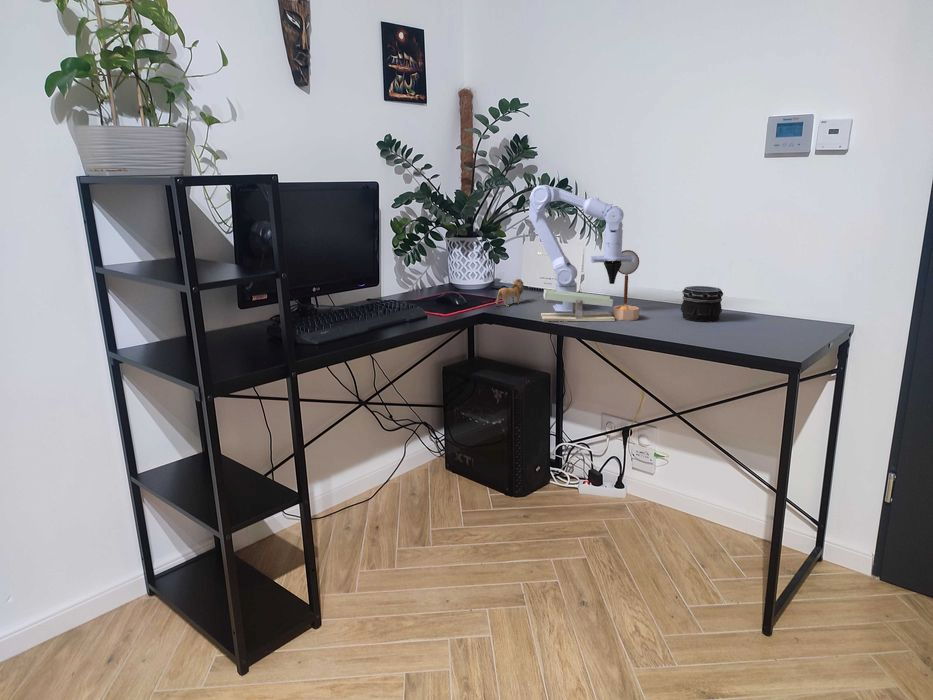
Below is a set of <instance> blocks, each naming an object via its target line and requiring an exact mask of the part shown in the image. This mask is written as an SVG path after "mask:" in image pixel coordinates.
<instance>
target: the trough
mask: <svg viewBox="0 0 933 700" xmlns="http://www.w3.org/2000/svg"><path fill="white" fill-rule="evenodd" d="M542 295H543V299H544V300H545V301H546V304H552V305H556V304H561V305H562V304H563V301H564V302H574V303H576V300H583V304H584V305H585V304H586V305H595V306H602V307H603V306H604V307H612V308H613V306H614V305H613V304H614V298H613V299H611V296H610V295H603V294H593V293H591V294H590V293H585V292H584V293H583V292H577V293H575V292H566V291H557V290H556V289H547V288H544V289H543V294H542ZM583 304H582V305H583Z"/></svg>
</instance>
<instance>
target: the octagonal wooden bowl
mask: <svg viewBox="0 0 933 700" xmlns="http://www.w3.org/2000/svg"><path fill="white" fill-rule="evenodd" d="M623 306H626V307H628V308H629V310H621V309H620V308H621V307H623ZM612 316H613V317H614V318H615V321H616V320H617V321H621V320H623V321H625V322H626V321H627V322H628V321H629V322H631V321H637V320H639V318H640V307H638V306H636V305H629V304H628V305H627V304H626V305H615V306H612Z"/></svg>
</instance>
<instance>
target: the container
mask: <svg viewBox="0 0 933 700" xmlns="http://www.w3.org/2000/svg"><path fill="white" fill-rule="evenodd" d="M681 293H682V294H683V296H682V303H681V307H680V311H681V313H682V315H681V316H682V319H684V320H687V321H691V322H692V321H693V322H701V323H704V322H705V323H709V321H712V322H717V321H719V319H720V315H721V313H722V312H723V309H722V303H721V302H722V300H723V298H722V297H723V296H724V292H723V291H722V289H721V288H719V287H714V286H708V285H707V286H706V285H705V286H704V285H692V286H686V287H684V288H683V289H682V291H681ZM716 320H717V321H716Z"/></svg>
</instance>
